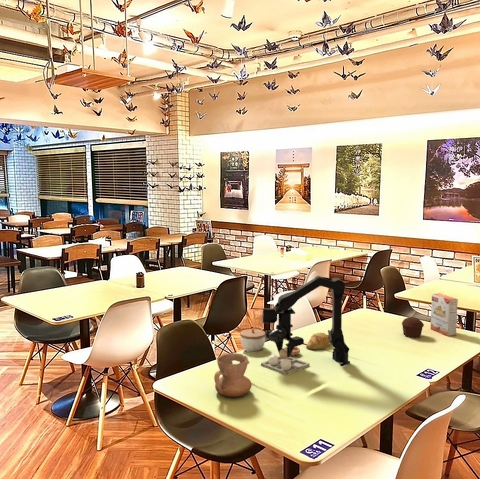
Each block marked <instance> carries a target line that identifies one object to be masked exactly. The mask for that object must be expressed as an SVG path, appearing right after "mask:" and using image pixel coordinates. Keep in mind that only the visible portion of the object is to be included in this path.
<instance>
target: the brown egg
mask: <svg viewBox="0 0 480 479" xmlns="http://www.w3.org/2000/svg"><path fill="white" fill-rule="evenodd" d="M278 356H280V357H281V358H282V359H287V358H288V357H287V349H286V348H285V347H284V348H282V349H281V350H280V352H278Z"/></svg>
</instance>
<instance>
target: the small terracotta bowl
mask: <svg viewBox="0 0 480 479" xmlns="http://www.w3.org/2000/svg"><path fill="white" fill-rule="evenodd" d="M284 348H286V349H287V346H285V347H284ZM299 353H301V348H300V347H299V346H297V347H294V349H293V351H292V353H291V355H290V357H291V356H297V355H298V354H299Z"/></svg>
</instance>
